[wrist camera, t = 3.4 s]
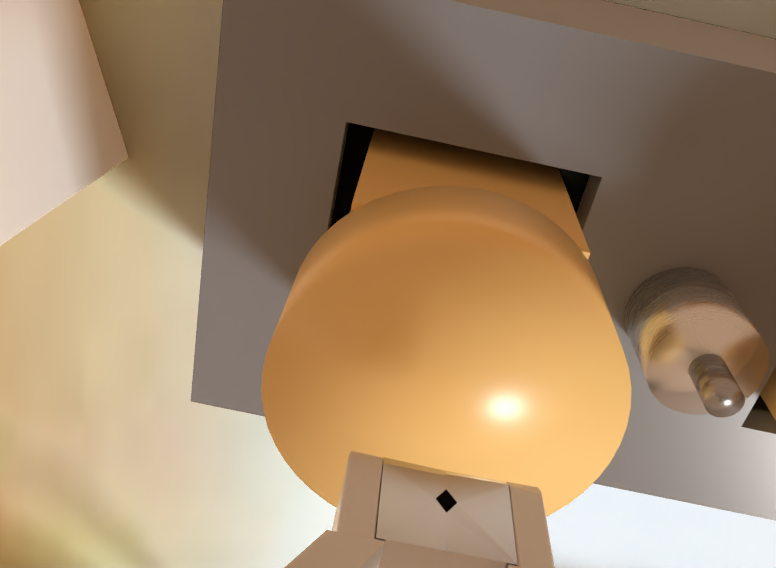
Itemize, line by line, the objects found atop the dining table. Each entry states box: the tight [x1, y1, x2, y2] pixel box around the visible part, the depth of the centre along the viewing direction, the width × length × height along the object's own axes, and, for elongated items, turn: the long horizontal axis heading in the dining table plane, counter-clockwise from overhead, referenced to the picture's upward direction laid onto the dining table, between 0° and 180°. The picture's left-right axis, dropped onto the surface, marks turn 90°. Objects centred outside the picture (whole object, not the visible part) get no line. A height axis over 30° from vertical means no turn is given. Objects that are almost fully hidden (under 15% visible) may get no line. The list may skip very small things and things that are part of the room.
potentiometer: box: [624, 267, 769, 418], centre depth 17 cm, size 3×3×4 cm
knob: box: [261, 128, 631, 516], centre depth 16 cm, size 7×7×8 cm
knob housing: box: [191, 0, 776, 520], centre depth 21 cm, size 12×24×7 cm, turn 79°
